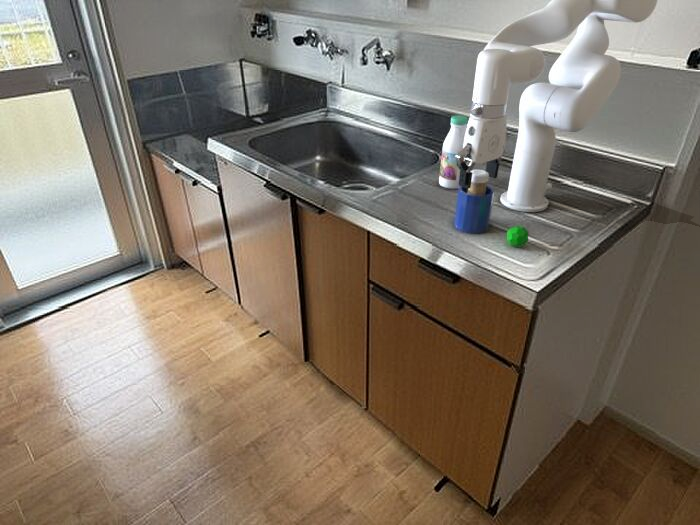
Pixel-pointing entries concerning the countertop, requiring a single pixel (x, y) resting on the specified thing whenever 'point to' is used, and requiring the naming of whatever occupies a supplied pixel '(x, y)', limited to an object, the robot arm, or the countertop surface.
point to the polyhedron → (517, 236)
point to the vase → (473, 210)
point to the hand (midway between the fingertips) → (477, 181)
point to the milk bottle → (452, 152)
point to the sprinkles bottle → (478, 182)
